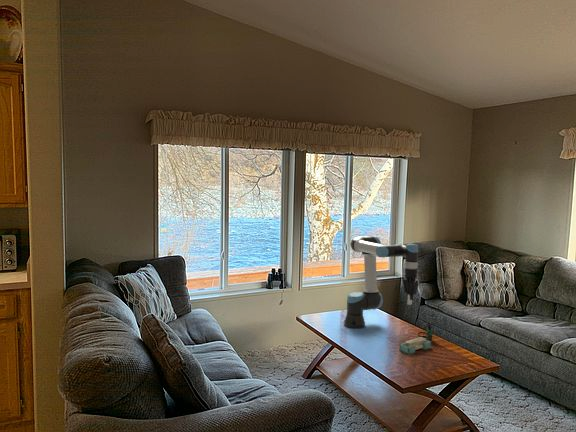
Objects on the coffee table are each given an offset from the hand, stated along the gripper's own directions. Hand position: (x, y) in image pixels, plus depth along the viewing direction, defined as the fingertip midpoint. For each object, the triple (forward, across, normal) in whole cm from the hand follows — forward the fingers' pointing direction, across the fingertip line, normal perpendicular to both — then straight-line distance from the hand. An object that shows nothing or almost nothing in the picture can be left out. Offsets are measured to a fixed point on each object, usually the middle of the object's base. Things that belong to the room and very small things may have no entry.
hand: (409, 304), depth 278 cm
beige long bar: (+26, +8, -3) cm, 27 cm away
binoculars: (+27, +1, +16) cm, 31 cm away
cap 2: (+26, +8, +5) cm, 28 cm away
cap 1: (+26, +8, -10) cm, 29 cm away
